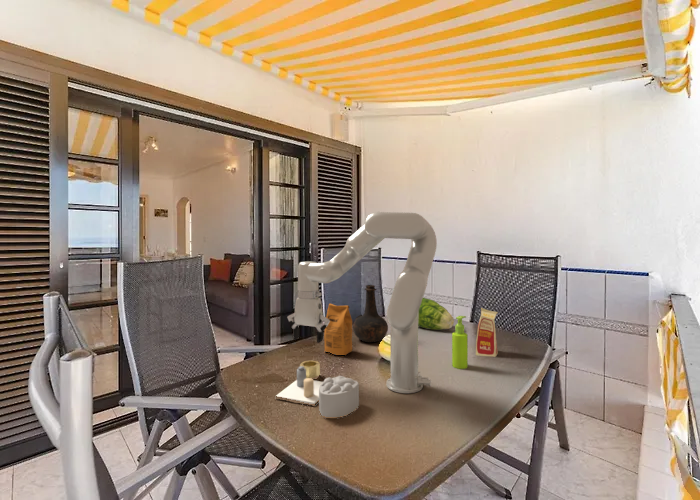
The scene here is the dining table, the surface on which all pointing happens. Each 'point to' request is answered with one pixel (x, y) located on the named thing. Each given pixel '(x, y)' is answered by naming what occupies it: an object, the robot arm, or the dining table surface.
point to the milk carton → (486, 334)
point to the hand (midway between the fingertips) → (308, 340)
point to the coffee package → (338, 330)
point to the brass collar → (311, 368)
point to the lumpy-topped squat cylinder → (338, 396)
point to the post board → (302, 388)
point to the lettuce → (434, 316)
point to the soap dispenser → (459, 346)
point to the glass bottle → (370, 320)
